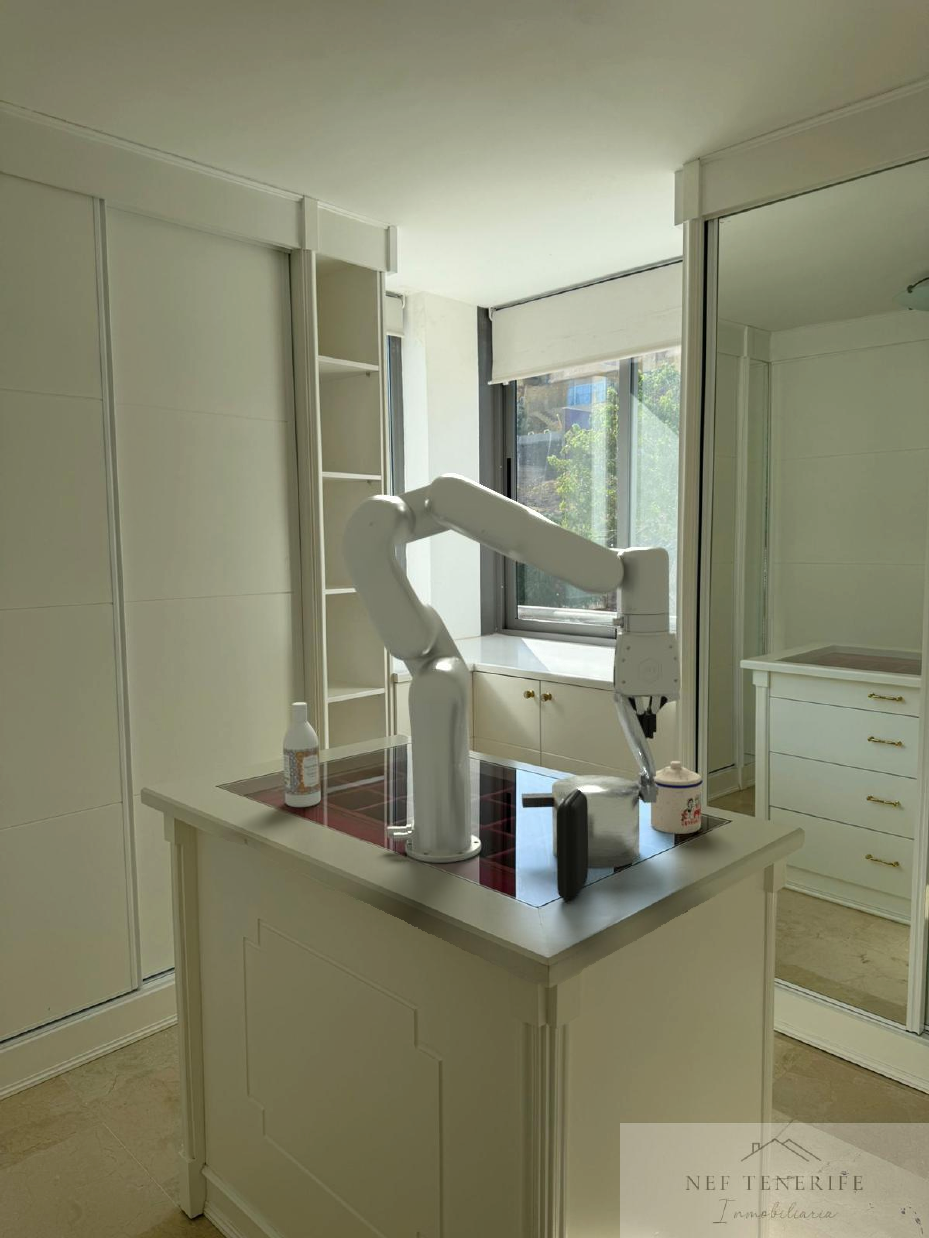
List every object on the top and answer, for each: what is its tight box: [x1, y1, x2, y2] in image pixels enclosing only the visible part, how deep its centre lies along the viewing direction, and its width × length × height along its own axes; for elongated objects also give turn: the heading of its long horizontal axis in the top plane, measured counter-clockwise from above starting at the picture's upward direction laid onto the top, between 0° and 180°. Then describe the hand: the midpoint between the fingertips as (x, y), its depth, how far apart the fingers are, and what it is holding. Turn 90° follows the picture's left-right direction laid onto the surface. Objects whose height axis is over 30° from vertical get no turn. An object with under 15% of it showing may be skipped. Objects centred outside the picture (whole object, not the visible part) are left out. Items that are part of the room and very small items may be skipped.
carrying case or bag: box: [556, 789, 589, 904], centre depth 129 cm, size 11×3×15 cm, turn 160°
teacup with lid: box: [650, 760, 703, 835], centre depth 158 cm, size 12×9×12 cm
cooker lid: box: [612, 690, 657, 783], centre depth 144 cm, size 16×15×3 cm
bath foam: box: [282, 701, 322, 808], centre depth 176 cm, size 7×7×20 cm
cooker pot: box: [521, 772, 658, 869], centre depth 145 cm, size 21×14×12 cm, turn 91°
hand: (646, 736), depth 144 cm, fingers closed
